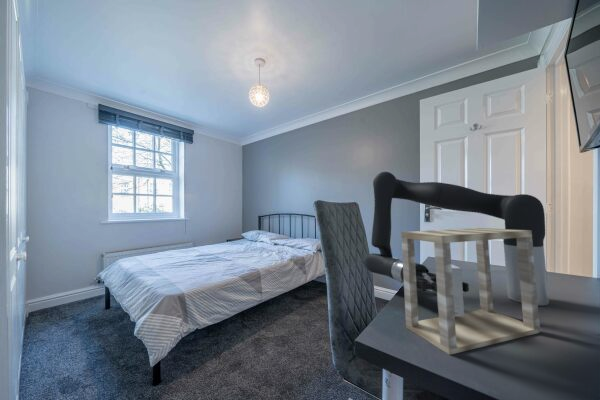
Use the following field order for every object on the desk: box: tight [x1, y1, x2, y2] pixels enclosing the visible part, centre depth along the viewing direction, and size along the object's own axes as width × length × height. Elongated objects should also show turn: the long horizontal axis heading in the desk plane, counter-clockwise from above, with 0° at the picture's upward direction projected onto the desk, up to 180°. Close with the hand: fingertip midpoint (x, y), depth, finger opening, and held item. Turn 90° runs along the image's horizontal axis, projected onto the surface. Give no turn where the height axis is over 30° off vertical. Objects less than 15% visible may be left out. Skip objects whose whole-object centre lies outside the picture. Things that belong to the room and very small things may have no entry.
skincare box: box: [436, 263, 465, 317], centre depth 62 cm, size 6×4×12 cm
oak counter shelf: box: [400, 227, 541, 356], centre depth 57 cm, size 27×12×24 cm, turn 106°
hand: (457, 289), depth 59 cm, fingers closed on skincare box, 6 cm apart
